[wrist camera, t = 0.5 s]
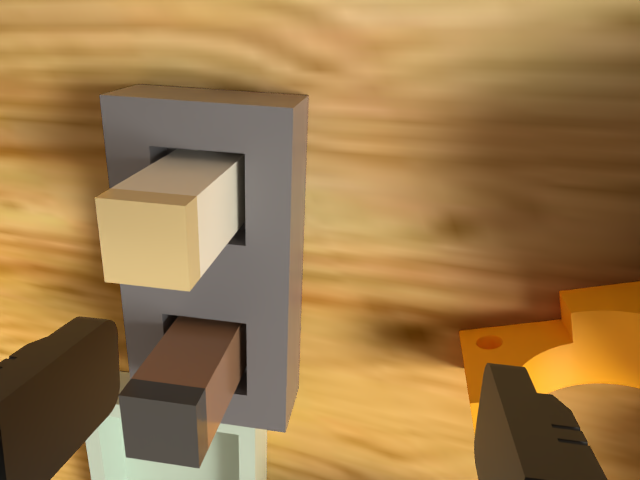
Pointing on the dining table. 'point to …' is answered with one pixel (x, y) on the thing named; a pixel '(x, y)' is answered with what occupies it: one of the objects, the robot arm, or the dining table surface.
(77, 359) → the robot arm
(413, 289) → the dining table surface
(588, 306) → the pipe clamp
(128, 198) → the block
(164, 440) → the block
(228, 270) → the block
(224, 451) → the parts tray
